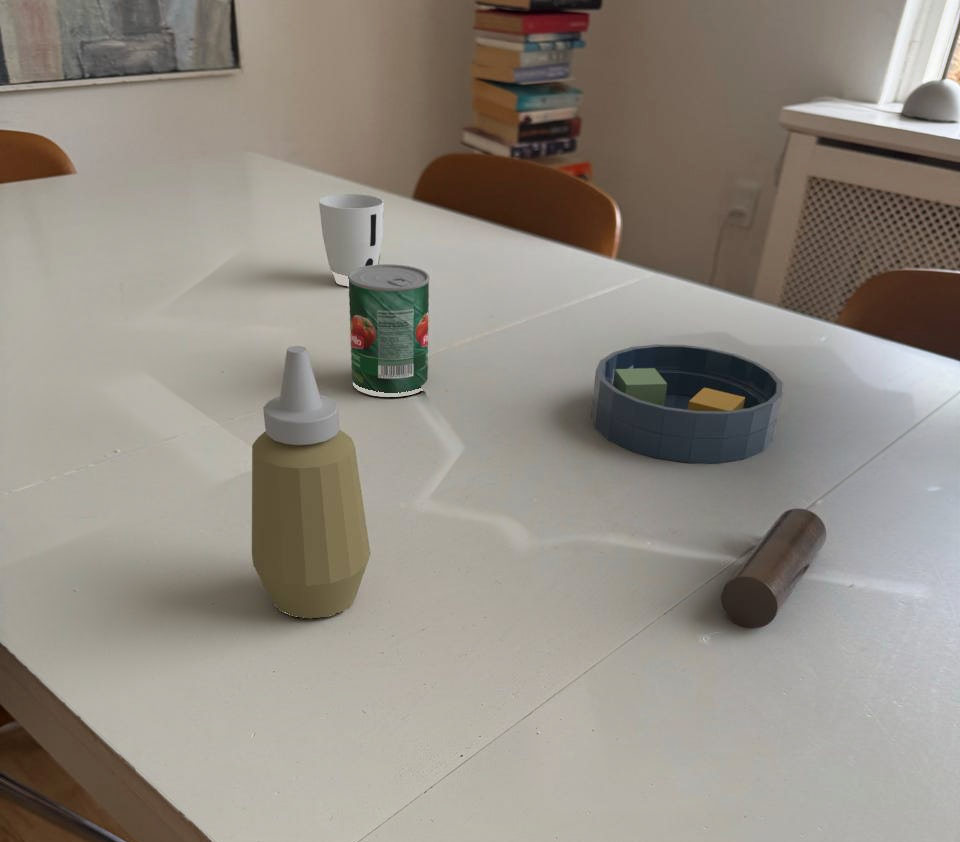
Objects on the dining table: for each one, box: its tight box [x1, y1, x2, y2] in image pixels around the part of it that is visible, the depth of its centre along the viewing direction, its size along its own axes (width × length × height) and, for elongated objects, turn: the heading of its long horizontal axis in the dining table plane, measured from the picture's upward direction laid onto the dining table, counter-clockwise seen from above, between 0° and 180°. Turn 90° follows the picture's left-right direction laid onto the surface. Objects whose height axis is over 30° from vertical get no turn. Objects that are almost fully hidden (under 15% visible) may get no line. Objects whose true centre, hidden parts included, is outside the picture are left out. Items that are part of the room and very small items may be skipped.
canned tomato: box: [348, 263, 430, 393], centre depth 100 cm, size 8×8×11 cm
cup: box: [318, 193, 385, 276], centre depth 128 cm, size 8×8×10 cm
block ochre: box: [688, 388, 745, 411], centre depth 92 cm, size 4×4×4 cm
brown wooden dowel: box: [720, 508, 827, 629], centre depth 73 cm, size 4×4×12 cm
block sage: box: [613, 368, 667, 406], centre depth 96 cm, size 4×4×4 cm
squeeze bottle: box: [251, 345, 371, 620], centre depth 65 cm, size 8×8×18 cm
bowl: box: [590, 343, 784, 464], centre depth 95 cm, size 17×17×6 cm
